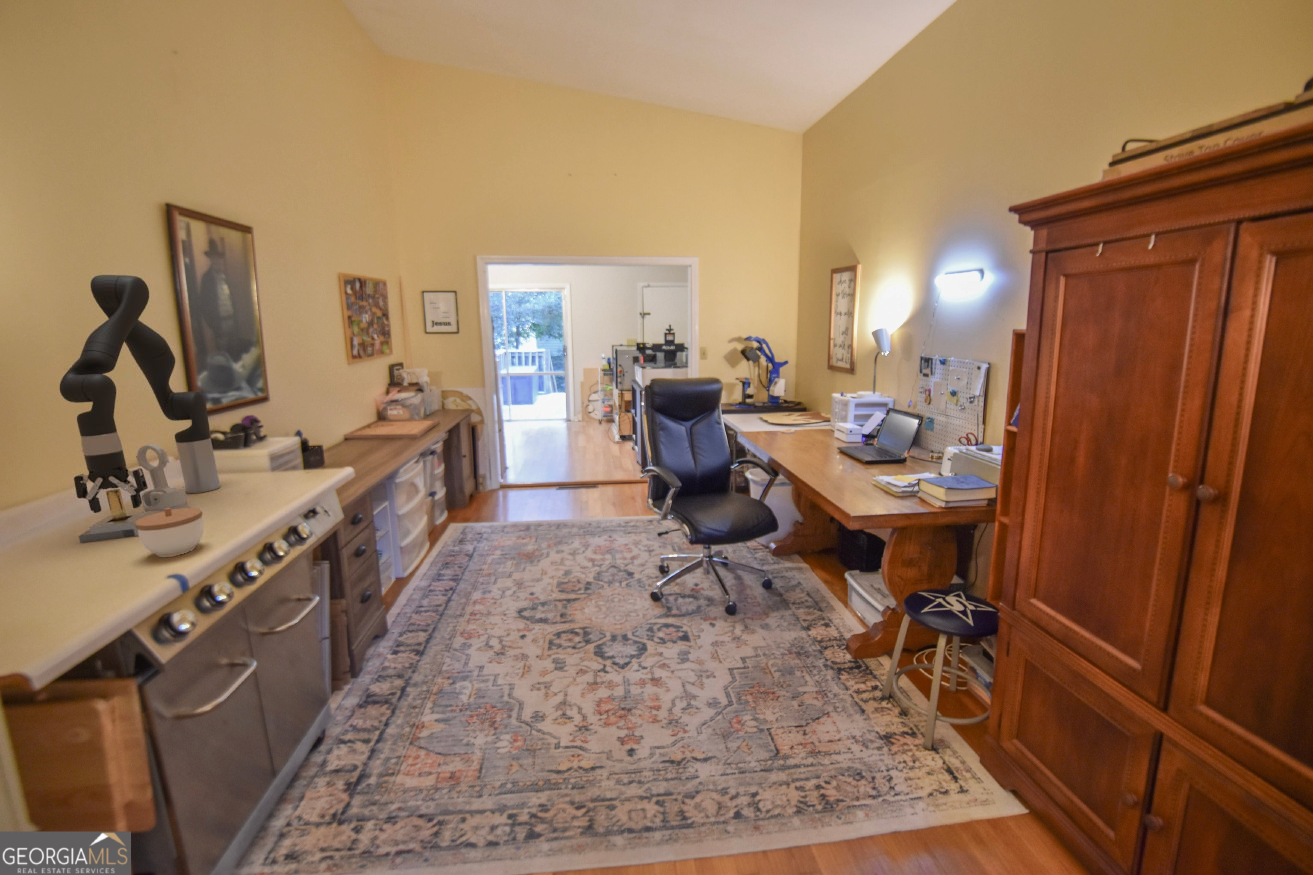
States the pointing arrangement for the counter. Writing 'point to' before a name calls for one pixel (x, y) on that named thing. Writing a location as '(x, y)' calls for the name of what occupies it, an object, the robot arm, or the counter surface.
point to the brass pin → (116, 505)
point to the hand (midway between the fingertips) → (117, 509)
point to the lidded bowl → (171, 531)
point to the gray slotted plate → (115, 527)
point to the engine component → (159, 483)
